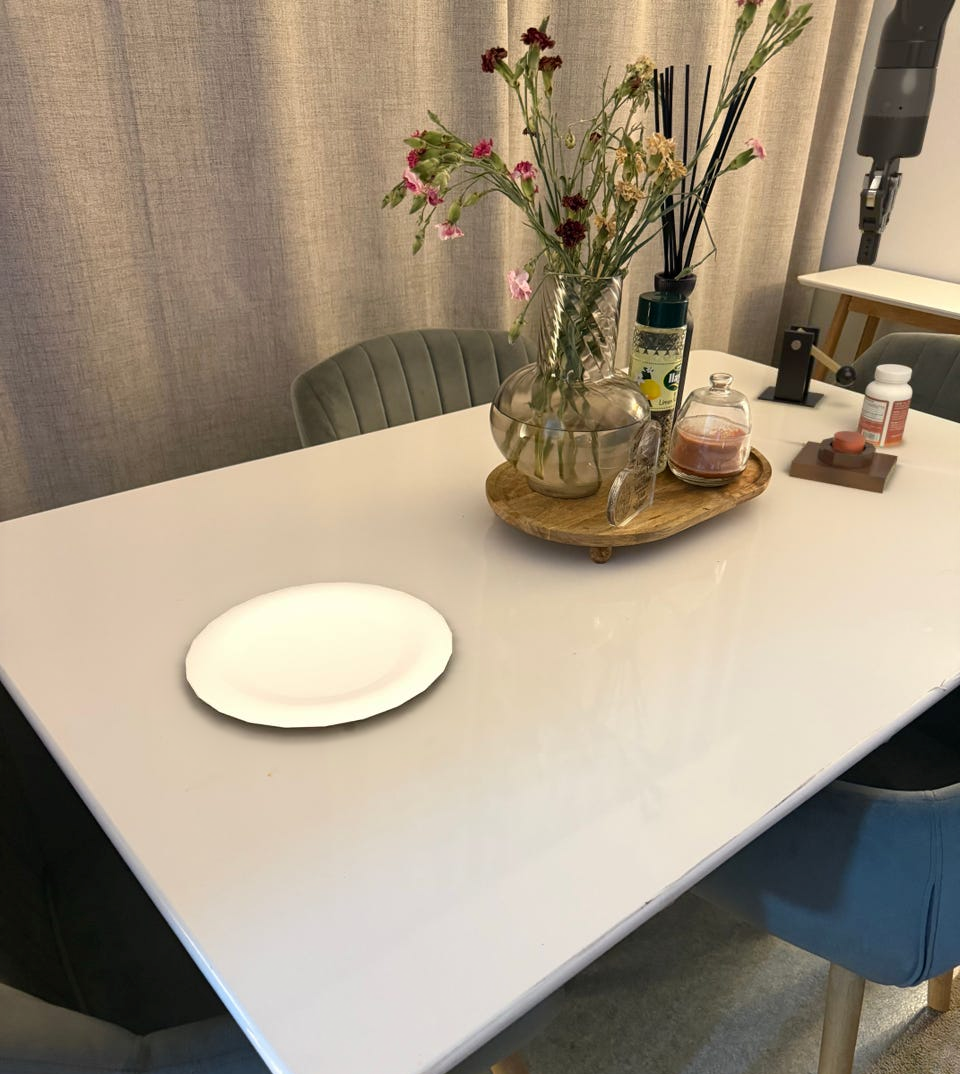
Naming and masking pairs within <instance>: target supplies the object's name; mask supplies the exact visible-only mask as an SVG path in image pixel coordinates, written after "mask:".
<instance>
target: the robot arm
mask: <svg viewBox="0 0 960 1074" xmlns="http://www.w3.org/2000/svg"><path fill="white" fill-rule="evenodd" d="M956 1H957V0H895V4H894V6H893V8H892V10H890V12H889V13H888V14H887V15H886V17H885V19H884V22H883V24H882V28H881V31H880V35H879V42H878V45H877V52H876V57H875V62H874V68H873V71H872V76H871V79H870V82H869V85H868V88H867V91H866V92H867V93H866V98H865V102H864V109H863V114H862V120H861V124H860V129H859V135H858V140H857V146H856V154H857V155H858V156H860V157H865V158H872V163H871V167H870V171H869V172H868V173H865V174H864V177H863V182H862V190H861V192H860V193H859V197H860V198H859V217H858V218H859V219H858V230H860V235H861V236H860V241H859V246H858V252H857V255H856V264H857V265H860V266H872V265H873V264H875V263H876V262H877V258H878V254H879V249H880V245H881V241H882V239H881V238H882V234H883V233H884V231H885V230H886V228H887V227H886V226H888V223H889V222H890V217H891V213H892V211H893V210H894V206H895V202H896V197H897V194H898V191H899V189H900V187H901V184H902V180H903V173H904V172H899V170H900V165H901V159H910V158H916V157H919V156H920V155H921V153H922V151H923V147H924V142H925V137H926V133H927V130H928V129H927V128H928V124H929V120H930V114H931V110H932V105H933V101H934V97H935V92H936V83H937V75H938V74H937V73H938V67H939V62H940V59H941V58H940V57H941V53H942V49H943V44H944V40H945V35H946V30H947V29H946V28H947V24H948V21H949V18H950V16H951V13H952V11H953V8H954V6H955V5H956Z"/></svg>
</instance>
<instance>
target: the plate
mask: <svg viewBox="0 0 960 1074" xmlns="http://www.w3.org/2000/svg"><path fill="white" fill-rule="evenodd" d="M452 655H453V633H452V631H451V629H450V627H449V625H448V624H447V622H446V619H445V618H444V616H443V615H441V613H439V612H438V611H437V610H436V609H435V608H433V607H432V606H431V605H430V604H429V603H427V602H426V601H424V600H422V599H419V598H417V597H416V596H414V595H411V594H409V593H407V592H404V591H402V590H398V589H394V588H390V587H387V586H383V585H379V584H371V583H370V584H369V583H362V582H361V583H360V582H351V581H343V582H342V581H339V582H338V581H337V582H315V583H308V584H302V585H295V586H289V587H284V588H282V589H277V590H274V591H271V592H267V593H264V594H259V595H257V596H255V597H253V598H251V599H248V600H246V601H244V602H242V603H240V604H236V605H235V606H232V607H231V608H230V609H228V610H226V611H225V612H223V613H222V614H221V615H219V616H218V617H216V618H214V619H212V621H210V622H209V623H208V624H207V625H206V626H205V627H204V628H203V630H202V631H201V632H200V633H198V635H197V636H196V637H195V638H194V639H193V641H192V643H191V645H190V648H189V650H188V652H187V655H186V657H185V662H184V663H185V676H186V681H187V683H188V684H189V686H190V688H191V689H192V690H193V692H194V694H195V695H196V697H197V698H198V699H199V700H200V701H201V702H203V703H205V704H206V705H207V706H208V707H210V708H211V709H212V710H214V711H215V712H217V713H219V714H220V715H223V716H226V717H229V718H232V719H235V720H238V721H240V722H243V723H245V724H249V725H253V726H262V727H270V728H276V729H281V730H282V729H283V730H293V729H294V730H297V729H299V730H301V729H302V730H303V729H325V728H331V727H336V726H342V725H347V724H348V725H349V724H352V723H358V722H363V721H366V720H369V719H371V718H374V717H377V716H380V715H383V714H385V713H388V712H390V711H393V710H395V709H398V708H400V707H402V706H403V705H405V704H407V703H408V702H410V701H411V700H414V699H415V698H417V697H418V696H420V695H421V694H423V693H425V692H426V691H427V690H428V689H429V688H430V687H431V686H432V685H433V684H434V683H435V682H436V681H437V680H438V679H439V678H440V677H441V676H442V675H443V674H444V673H445V670H446V668H447V666H448V664H449V662H450V659H451V657H452Z"/></svg>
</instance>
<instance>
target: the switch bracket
mask: <svg viewBox="0 0 960 1074" xmlns="http://www.w3.org/2000/svg"><path fill="white" fill-rule="evenodd" d="M800 328H801V329H803V330H804V331H805V332H801V331H797V330H798V329H800ZM820 332H821V327H820V326H812V325H803V324H792V325H790V329H785V330H784V331H783V338H782V344H781V350H780V357H779V362H778V369H777V375H776V379H775V380H776V381H775V386H774V385H773V386H772V385H768V387H767V388H766V389H764V390H763V391H762V393H761V394H760V395H759V396H757V400H759V401H766V402H772V403H779V404H787V405H791V406H793V405H794V406H800V407H805V408H813V409H814V408H815V407H816V406H817V404H819V402H820V401H821V400H822V399H823V397H825V393H821V392H813V391H810V388H811V387H810V386H811V381H812V376H813V371H814V365H815V360H816V358H815V357H814V356H812V355H811V350H812V345H814V346H815V347H816V348H818V344H819V338H820V334H821V333H820ZM813 339H814V340H813Z"/></svg>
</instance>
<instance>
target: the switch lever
mask: <svg viewBox="0 0 960 1074" xmlns="http://www.w3.org/2000/svg"><path fill="white" fill-rule="evenodd" d="M797 331H801V332H805V331H804V330H803V329H801V328H800V329H798V330H797ZM813 340H814V339H813ZM811 355H812V356H814V357H815V360H817V361H819V362H820V363H821V364H823V365H824V366H825V367H826V368H828V369H829V370H831V371H832V372H833V373H834V374H835V375H834V379H835V382H836V384H837V385H839V386H841V387H850V386H852V385H853V384H854V383H855V382H856V380H857V377H858V372H857V370H856V368H855V367H854V366H852V365H848V364H845V365H842V366H841V365H840V364H838V363H837V362H836V360H835V361H834V360H833V358H831V357H830V356H828V355H827V354H826V353H824V352H823V351H821V350H820V349H819V348H818V347H817V348H816V347H815V346H814V345H812V350H811Z"/></svg>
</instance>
